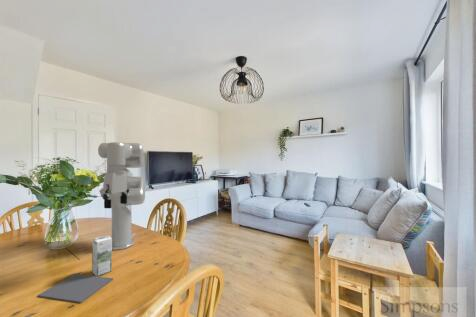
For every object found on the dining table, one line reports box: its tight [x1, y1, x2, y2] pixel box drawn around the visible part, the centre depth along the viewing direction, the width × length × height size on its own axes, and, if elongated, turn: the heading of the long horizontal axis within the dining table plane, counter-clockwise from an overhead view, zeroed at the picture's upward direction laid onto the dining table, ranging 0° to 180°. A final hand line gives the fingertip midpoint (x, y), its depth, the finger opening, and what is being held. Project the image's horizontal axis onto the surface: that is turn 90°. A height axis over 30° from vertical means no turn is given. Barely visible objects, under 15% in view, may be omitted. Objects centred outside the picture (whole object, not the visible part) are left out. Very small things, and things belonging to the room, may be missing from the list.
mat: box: [37, 273, 114, 304], centre depth 78 cm, size 14×18×1 cm
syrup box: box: [91, 234, 113, 277], centre depth 89 cm, size 6×6×14 cm
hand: (116, 205), depth 97 cm, fingers open, 9 cm apart
